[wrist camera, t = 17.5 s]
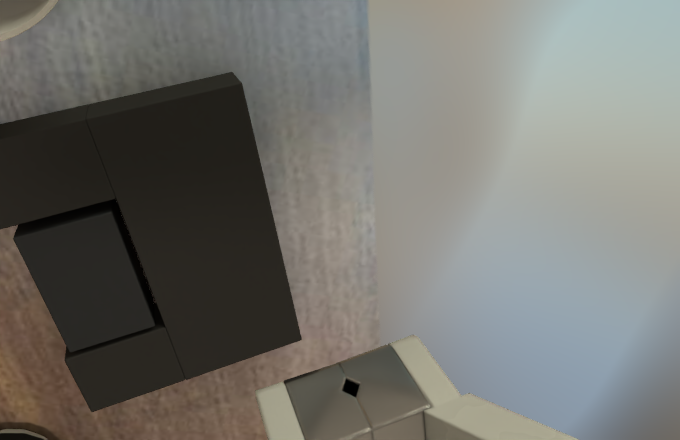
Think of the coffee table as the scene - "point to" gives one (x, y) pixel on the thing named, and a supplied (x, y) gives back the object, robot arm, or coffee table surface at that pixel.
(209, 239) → the big pad
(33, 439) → the beverage can
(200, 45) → the coffee table surface
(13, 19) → the cup
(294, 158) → the coffee table surface
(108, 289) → the small pad
